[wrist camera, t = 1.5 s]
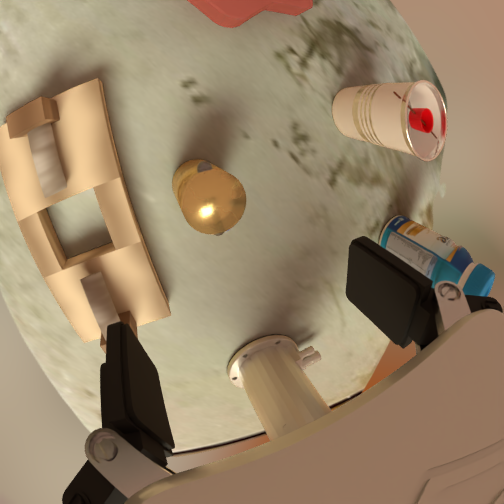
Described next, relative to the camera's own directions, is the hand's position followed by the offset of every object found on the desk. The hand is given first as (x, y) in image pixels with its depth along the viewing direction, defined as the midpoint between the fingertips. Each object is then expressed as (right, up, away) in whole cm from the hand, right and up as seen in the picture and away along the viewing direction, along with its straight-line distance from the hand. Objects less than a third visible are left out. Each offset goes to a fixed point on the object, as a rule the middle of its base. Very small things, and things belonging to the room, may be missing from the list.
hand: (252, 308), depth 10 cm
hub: (-6, +9, +17) cm, 20 cm away
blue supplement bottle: (+24, +5, +32) cm, 41 cm away
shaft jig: (-18, +5, +13) cm, 23 cm away
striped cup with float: (+13, +20, +19) cm, 31 cm away
